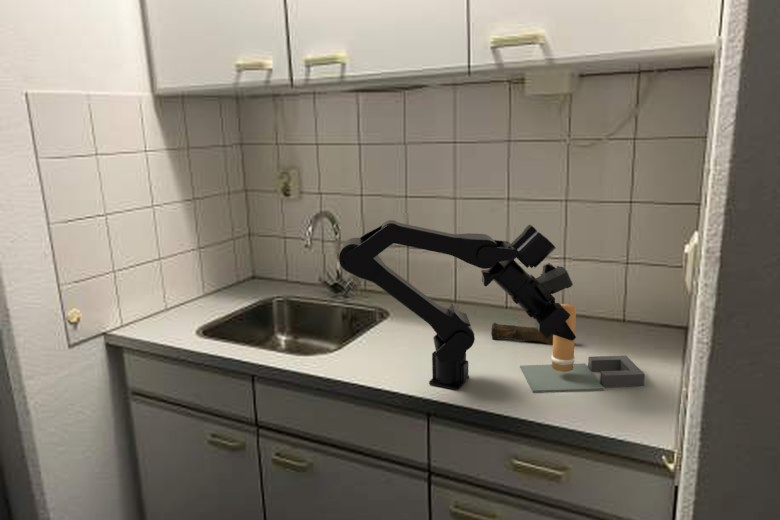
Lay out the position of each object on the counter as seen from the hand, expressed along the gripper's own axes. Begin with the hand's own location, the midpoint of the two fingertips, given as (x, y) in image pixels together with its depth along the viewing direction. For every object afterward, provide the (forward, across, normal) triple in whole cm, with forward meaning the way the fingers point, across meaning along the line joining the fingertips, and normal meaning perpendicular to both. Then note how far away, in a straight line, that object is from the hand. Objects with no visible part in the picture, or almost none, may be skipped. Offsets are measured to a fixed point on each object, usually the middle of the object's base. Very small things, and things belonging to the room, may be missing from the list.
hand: (570, 334), depth 120 cm
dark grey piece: (+13, 0, +1) cm, 13 cm away
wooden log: (+5, +21, +9) cm, 24 cm away
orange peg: (+4, 0, +6) cm, 7 cm away
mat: (+5, 0, +8) cm, 10 cm away
